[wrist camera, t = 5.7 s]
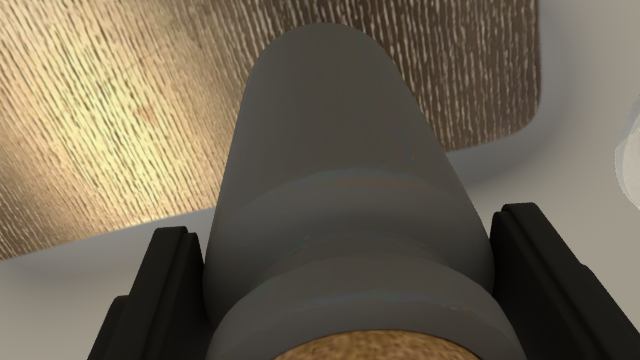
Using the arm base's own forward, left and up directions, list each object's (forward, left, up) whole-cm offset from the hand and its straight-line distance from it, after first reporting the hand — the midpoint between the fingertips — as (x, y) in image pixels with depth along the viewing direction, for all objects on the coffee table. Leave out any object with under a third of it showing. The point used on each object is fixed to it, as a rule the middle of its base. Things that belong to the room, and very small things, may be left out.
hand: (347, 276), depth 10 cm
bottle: (0, 0, -10) cm, 10 cm away
